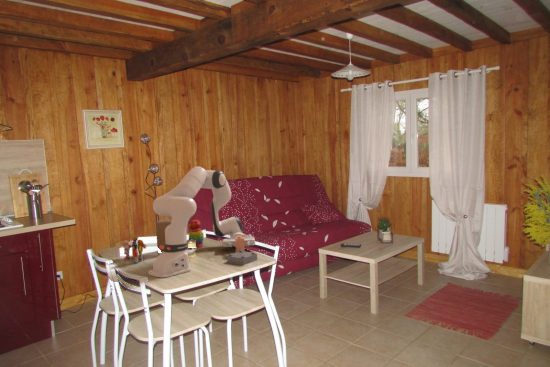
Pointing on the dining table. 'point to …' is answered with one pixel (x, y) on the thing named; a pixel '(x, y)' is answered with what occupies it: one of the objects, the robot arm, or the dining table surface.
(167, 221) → the block
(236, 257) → the charcoal base brick
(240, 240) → the terracotta brick
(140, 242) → the doll family
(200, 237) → the stacking bear
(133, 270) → the dining table surface
